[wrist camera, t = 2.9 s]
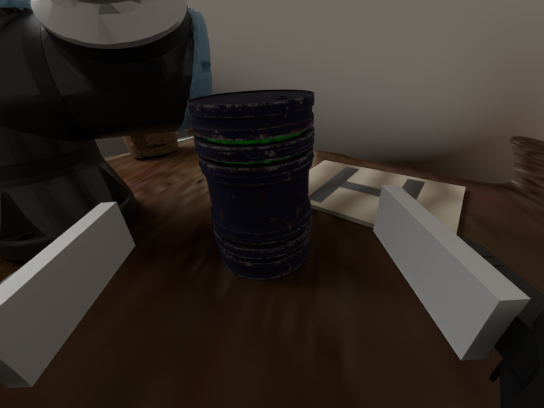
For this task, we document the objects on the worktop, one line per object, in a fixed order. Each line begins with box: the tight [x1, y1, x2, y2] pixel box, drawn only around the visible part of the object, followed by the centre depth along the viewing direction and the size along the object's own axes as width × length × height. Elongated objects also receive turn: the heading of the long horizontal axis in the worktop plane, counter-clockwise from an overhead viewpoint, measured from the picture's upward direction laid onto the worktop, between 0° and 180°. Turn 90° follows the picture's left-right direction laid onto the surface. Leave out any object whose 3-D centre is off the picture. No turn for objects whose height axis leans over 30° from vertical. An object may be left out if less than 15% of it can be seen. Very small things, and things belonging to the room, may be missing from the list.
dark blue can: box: [187, 90, 315, 280], centre depth 22 cm, size 10×10×15 cm
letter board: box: [308, 161, 465, 234], centre depth 34 cm, size 22×16×1 cm
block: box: [122, 132, 178, 158], centre depth 52 cm, size 11×8×20 cm
